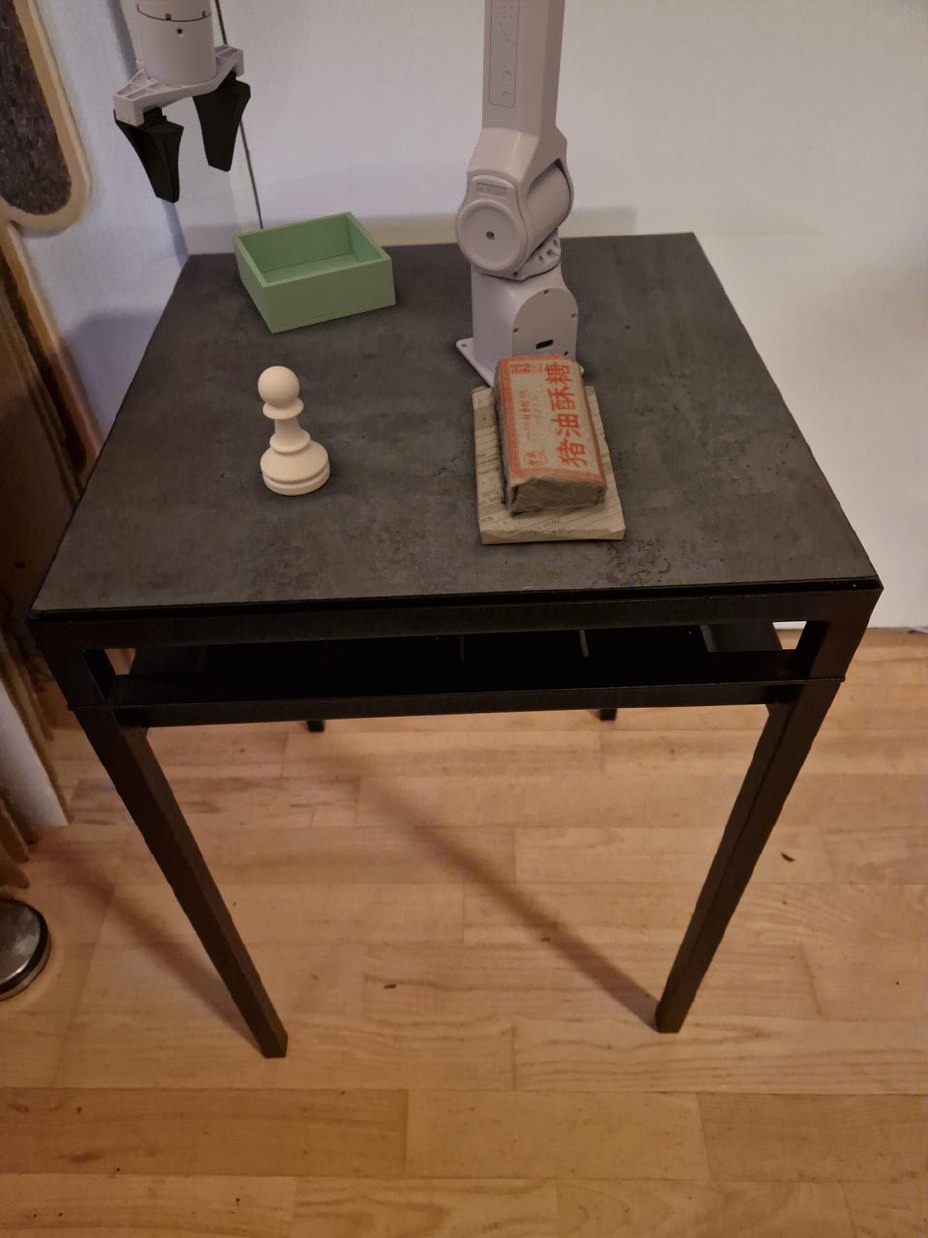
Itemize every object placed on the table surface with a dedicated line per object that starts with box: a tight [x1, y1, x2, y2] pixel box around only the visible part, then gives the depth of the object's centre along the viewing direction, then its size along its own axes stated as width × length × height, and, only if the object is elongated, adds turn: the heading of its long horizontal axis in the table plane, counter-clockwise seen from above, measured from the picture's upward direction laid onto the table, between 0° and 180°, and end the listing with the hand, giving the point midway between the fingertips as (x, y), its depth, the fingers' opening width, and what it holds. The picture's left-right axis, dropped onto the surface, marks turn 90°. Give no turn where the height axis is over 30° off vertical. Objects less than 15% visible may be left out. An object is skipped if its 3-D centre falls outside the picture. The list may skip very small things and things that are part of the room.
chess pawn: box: [257, 365, 331, 496], centre depth 64 cm, size 5×5×9 cm
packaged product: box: [472, 354, 627, 545], centre depth 65 cm, size 18×5×10 cm
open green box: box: [230, 210, 397, 334], centre depth 86 cm, size 12×12×4 cm
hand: (194, 182), depth 81 cm, fingers open, 7 cm apart
